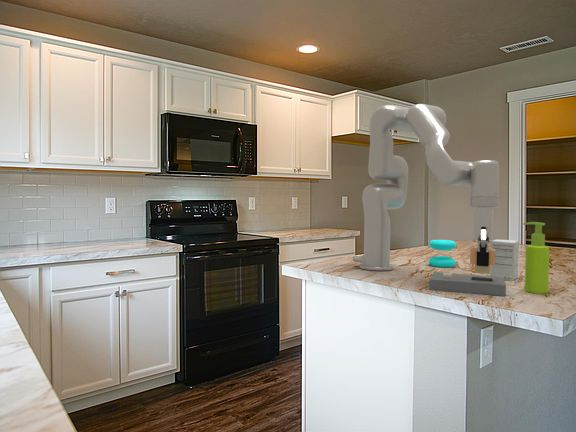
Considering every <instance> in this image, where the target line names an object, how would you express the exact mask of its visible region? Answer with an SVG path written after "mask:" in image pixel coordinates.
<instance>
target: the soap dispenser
mask: <svg viewBox="0 0 576 432" xmlns="http://www.w3.org/2000/svg"><path fill="white" fill-rule="evenodd" d="M522 225H524V226H526V225H534V232H533V233H531V239H530V242H531V243H530V244H527V245H526V246H525V270H524V271H525V273H524V292H527V293H532V294H538V295H541V294H542V295H544V294H546V295H547V294H549V279H550V277H549V275H550V274H549V273H550V250H551V249H550V246H549V245H546V234H545V233H543V226H545V225H546V223H545V222H539V221H529V222H523V223H522Z"/></svg>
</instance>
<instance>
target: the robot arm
mask: <svg viewBox="0 0 576 432" xmlns="http://www.w3.org/2000/svg"><path fill="white" fill-rule="evenodd" d="M447 120H448V119H447V115H446V112H445V111H444V109H443V108H442V107H440V106H437V105H431V104H425V103H417V104H413V105H412V106H411V107H405V106H400V105H394V104H384V105H381V106H379V107H377V108H376V109H375V110H374V111H373V112H372V115H371V117H370V119H369V127H368V129H369V142H370V143H369V153H368V154H369V156H368V165H367V167H368V169H367V170H368V171H367V172H368V176H369V177H370V178H371V179H373V180H377V181H386V182H387V183H371V184H369V185H367V186H365V188H364V189H363V191H362V195H361V201H362V206H363V215H364V217H363V218H364V219H363V220H364V228H363V229H364V230H363V233H364V234H363V235H364V236H363V255H361V256H356V255H354V256H352V262H360V264H359V268H360V269H363V270H368V271H378V272H379V271H380V272H381V271H393V270H394V267H395V266H394V265H393V264H391V263H390V260H391V259H390V258H391V219H390V214H389V212H388V210H397V209H400V208H402V207H403V206H404V205H405V202H406V200H407V196H408V195H407V193H408V182H409V181H408V180H409V165H408V162H407V161H406V159H405V158H404V157H402V156H400V155H394V146H395V145H394V139H393V136H392V133H391V132H390V131H399V132H406V133H407V132H408V133H414V135H416V136H417V138H418V140H419V141H420V142H421V144H422V145H423V146H424V148H425V151H424V152H425V153H424V155H425V156H424V157H425V161H426V164H427V167H428V169H429V170H430V171H431V173H432V174H433V175H434V177H435V178H436V179H437V180H438V181H439V182H440V184H443V185H445V186H450V187H452V186H453V187H470V197H469V199H470V200H469V204H470V205H469V207H470V209H473V217H472V242H473V243H475V242H476V241H477V248H478V252H477V263H476V265H477V266H486V267H488V266H489V252H488V248H489V244H491V241H492V237H493V229H494V210H495V209H499V197H500V196H499V195H500V194H499V193H500V163H499V162H498V161H497V160H493V159H491V160H490V159H484V160H483V159H482V160H481V159H480V160H475V161H474V162H473V161H464V160H453V159H452V157H451V156H450V155H449V154H448V152H447V151H446V149H445V147H444V146H446V145H447V144H448V142H449V140H450V139H451V135H450V132H449V130H448V129H447V128H446V124H447Z"/></svg>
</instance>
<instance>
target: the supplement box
mask: <svg viewBox="0 0 576 432" xmlns="http://www.w3.org/2000/svg"><path fill="white" fill-rule="evenodd" d="M519 246H520V241H519V240H514V239H513V240H511V239H499V238H498V239H494V240H491V242H490V249H495V251H496V257H495V265H490V274H489V276H497V277H503V278H504V281H511V282H512V281H514V280H516V279H517V278H519V250H520V248H519Z"/></svg>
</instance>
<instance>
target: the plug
mask: <svg viewBox="0 0 576 432" xmlns="http://www.w3.org/2000/svg"><path fill="white" fill-rule="evenodd" d="M477 252H478V247H470V251H469V253H470V254H469V256H470V257H469V264H470V265H471V264H472V265H474V274H485V275H490V265H495V257H496V251H495V249H491V247H490V248H489V247H488V252H489V266H488V267H486V266H477V265H476V263H477Z"/></svg>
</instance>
